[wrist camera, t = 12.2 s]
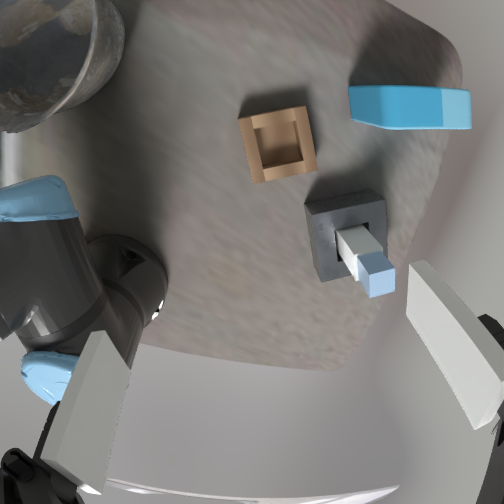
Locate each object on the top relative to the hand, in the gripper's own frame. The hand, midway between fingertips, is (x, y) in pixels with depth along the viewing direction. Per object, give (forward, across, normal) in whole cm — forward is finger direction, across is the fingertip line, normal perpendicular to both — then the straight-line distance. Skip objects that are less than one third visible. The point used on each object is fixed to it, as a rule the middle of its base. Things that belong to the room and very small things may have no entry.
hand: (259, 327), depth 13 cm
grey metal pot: (+31, -17, +21) cm, 41 cm away
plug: (+29, +12, -12) cm, 34 cm away
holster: (+31, +5, +2) cm, 31 cm away
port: (+31, +12, -12) cm, 35 cm away
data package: (+31, +21, +5) cm, 38 cm away
